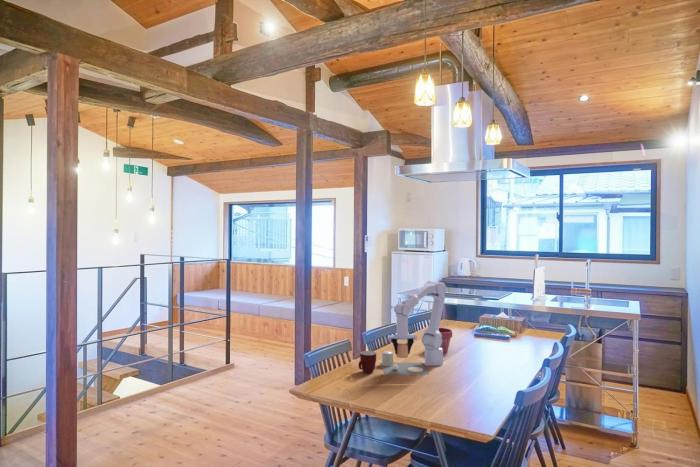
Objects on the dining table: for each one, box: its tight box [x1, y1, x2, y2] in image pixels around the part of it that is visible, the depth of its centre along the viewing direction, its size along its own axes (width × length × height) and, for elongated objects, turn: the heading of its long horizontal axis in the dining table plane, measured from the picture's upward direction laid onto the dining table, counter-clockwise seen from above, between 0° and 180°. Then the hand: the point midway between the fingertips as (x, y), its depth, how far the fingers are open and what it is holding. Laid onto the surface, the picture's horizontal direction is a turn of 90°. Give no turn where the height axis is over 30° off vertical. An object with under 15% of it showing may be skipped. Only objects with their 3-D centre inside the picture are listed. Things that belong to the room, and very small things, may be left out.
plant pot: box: [431, 327, 453, 354], centre depth 266 cm, size 14×14×13 cm
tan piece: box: [396, 341, 409, 359], centre depth 229 cm, size 6×6×6 cm
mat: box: [379, 361, 430, 376], centre depth 231 cm, size 22×20×1 cm
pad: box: [407, 367, 423, 372], centre depth 229 cm, size 8×8×1 cm
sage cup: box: [381, 350, 394, 366], centre depth 237 cm, size 6×6×6 cm
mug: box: [358, 350, 377, 374], centre depth 225 cm, size 11×8×10 cm
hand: (402, 353), depth 229 cm, fingers closed on tan piece, 6 cm apart
